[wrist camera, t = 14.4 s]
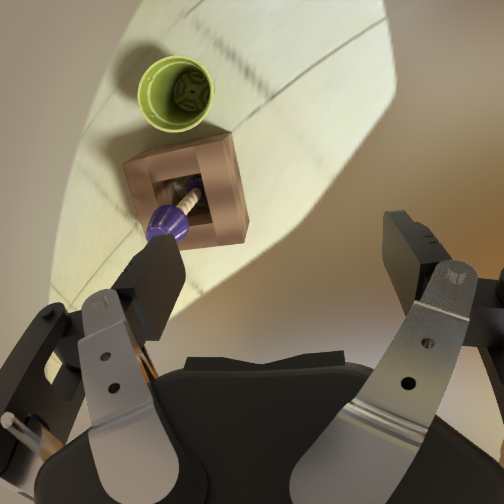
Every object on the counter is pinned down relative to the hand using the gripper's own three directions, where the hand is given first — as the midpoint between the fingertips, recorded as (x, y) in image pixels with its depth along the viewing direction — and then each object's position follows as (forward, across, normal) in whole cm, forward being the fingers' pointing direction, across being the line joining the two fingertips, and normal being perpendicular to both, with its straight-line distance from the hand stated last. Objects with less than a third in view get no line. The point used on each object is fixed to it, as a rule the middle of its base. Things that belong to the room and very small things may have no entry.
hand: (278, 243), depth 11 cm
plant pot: (+33, +11, -7) cm, 36 cm away
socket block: (+33, +14, +7) cm, 37 cm away
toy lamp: (+33, +14, +7) cm, 37 cm away
